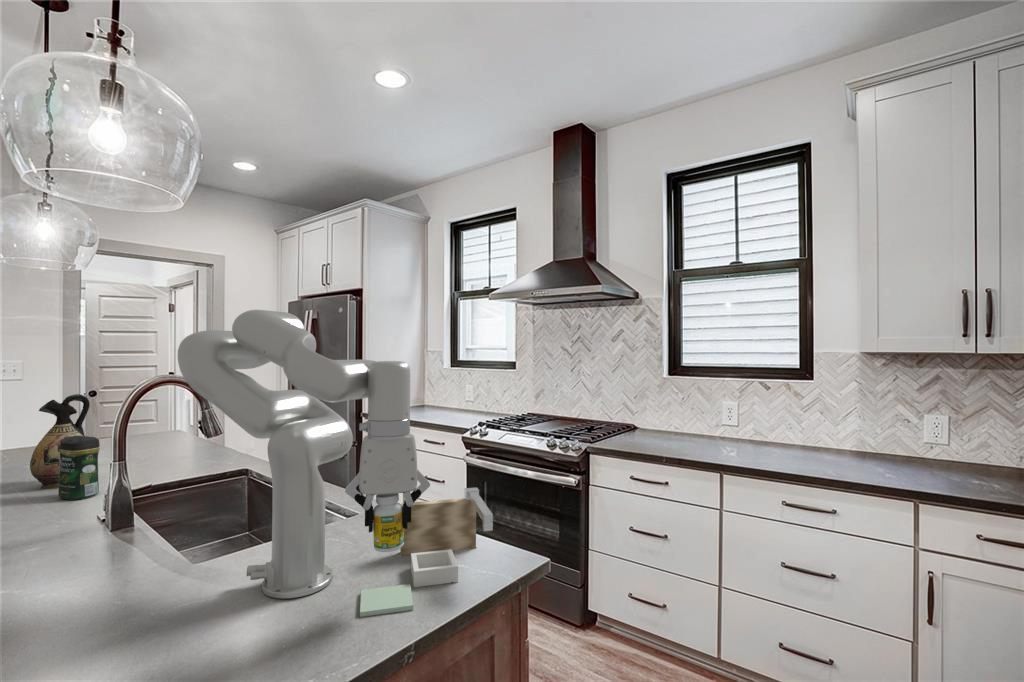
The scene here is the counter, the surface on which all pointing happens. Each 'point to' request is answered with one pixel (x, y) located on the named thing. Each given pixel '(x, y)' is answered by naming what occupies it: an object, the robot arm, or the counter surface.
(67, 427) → the ceramic jug
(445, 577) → the hollow square frame
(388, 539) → the supplement bottle
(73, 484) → the coffee jar
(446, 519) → the wooden block
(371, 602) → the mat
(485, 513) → the bar
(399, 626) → the counter surface
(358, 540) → the counter surface
